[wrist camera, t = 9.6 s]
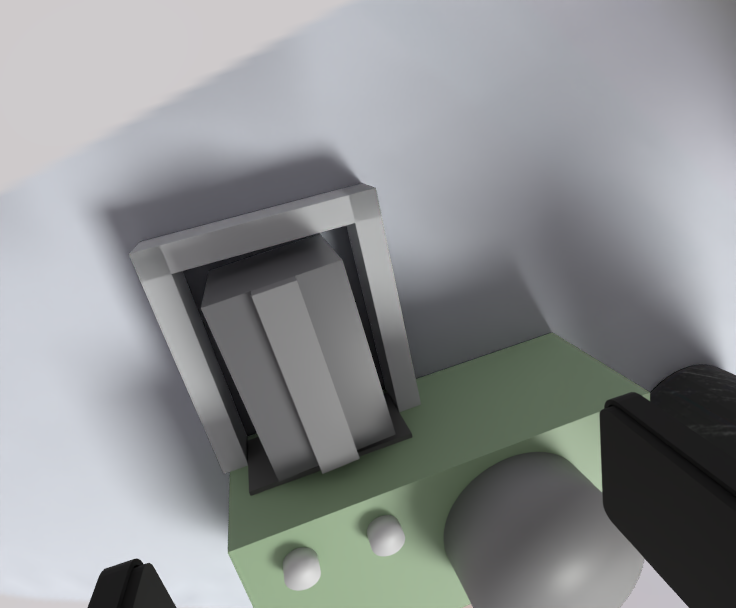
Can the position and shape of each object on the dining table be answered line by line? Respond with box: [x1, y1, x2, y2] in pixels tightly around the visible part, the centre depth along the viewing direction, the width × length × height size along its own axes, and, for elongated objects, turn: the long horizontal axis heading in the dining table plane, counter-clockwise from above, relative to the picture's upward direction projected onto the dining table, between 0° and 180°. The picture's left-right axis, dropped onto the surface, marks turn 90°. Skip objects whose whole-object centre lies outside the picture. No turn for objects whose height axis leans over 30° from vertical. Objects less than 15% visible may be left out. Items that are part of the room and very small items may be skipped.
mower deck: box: [129, 183, 650, 608], centre depth 17 cm, size 16×16×9 cm
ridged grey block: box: [201, 234, 396, 482], centre depth 17 cm, size 4×7×5 cm, turn 16°
